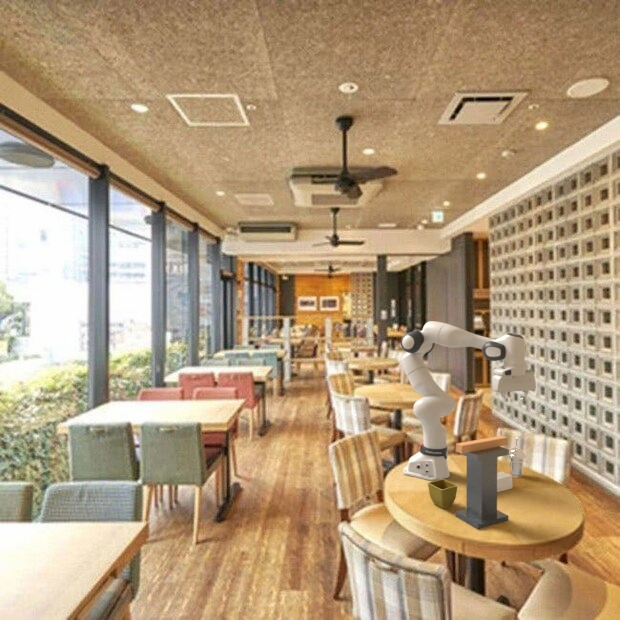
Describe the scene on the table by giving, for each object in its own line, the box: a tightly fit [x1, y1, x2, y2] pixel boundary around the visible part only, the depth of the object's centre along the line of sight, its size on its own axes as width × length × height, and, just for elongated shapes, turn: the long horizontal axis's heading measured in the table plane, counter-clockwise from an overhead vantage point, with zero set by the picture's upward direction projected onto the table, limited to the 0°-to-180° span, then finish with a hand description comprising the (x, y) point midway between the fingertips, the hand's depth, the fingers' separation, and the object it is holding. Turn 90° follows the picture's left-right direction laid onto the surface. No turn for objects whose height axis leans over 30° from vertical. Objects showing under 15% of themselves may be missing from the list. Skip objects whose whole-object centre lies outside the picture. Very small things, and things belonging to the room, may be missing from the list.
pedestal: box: [454, 446, 510, 530], centre depth 185 cm, size 16×12×28 cm
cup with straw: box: [506, 434, 528, 478], centre depth 230 cm, size 8×9×20 cm
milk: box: [497, 471, 513, 493], centre depth 213 cm, size 6×6×22 cm
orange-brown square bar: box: [455, 435, 509, 454], centre depth 185 cm, size 24×3×3 cm, turn 115°
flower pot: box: [427, 479, 458, 509], centre depth 198 cm, size 9×9×9 cm
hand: (514, 401), depth 209 cm, fingers open, 8 cm apart
